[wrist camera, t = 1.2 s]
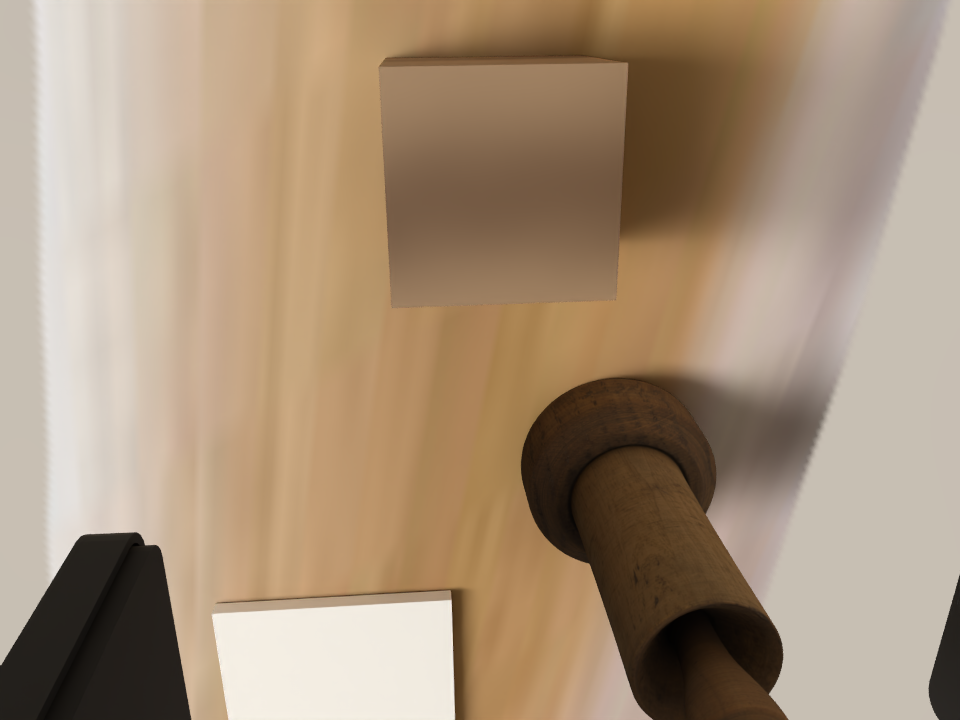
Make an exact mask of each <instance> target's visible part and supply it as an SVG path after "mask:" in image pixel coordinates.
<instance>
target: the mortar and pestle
mask: <svg viewBox="0 0 960 720" xmlns="http://www.w3.org/2000/svg"><path fill="white" fill-rule="evenodd" d="M521 474H522V481H523V485H524V489H525V492H526V496H527V500H528V503H529V507H530V510H531V513H532V516H533V518H534V520H535V522H536V524H537V526H538V528H539V529H540V531H541V532H542V533H543V535H544V536H545V537H546V538H547V539H548V540H549V541H550V542H551V543H552V544H553V545H554V546H555V547H556V548H558V549H559V550H560V551H562V552H563V553H565V554H567V555H568V556H570V557H572V558H574V559H577V560H580V561H583V562H586V563H589V564H590V566H591V569H592V571H593V574H594V577H595V580H596V583H597V586H598V589H599V592H600V595H601V598H602V601H603V604H604V607H605V610H606V613H607V616H608V619H609V622H610V625H611V628H612V631H613V634H614V637H615V640H616V643H617V646H618V649H619V652H620V656H621V659H622V662H623V665H624V668H625V671H626V675H627V678H628V681H629V684H630V687H631V690H632V693H633V695H634V698H635V700H636V701H637V703H638V705H639V706H640V708H641V709H642V710H643V711H644V712H645V713H646V714H647V715H648V716H649V717H651V718H652V719H653V720H788V718H787V717H786V716H785V714H784V713H783V711H782V710H781V709H780V707H779V706H778V705H777V704H776V702H775V701H774V700H773V699H772V698H771V697H770V696H769V693H770V691H771V690H772V688H773V687H774V685H775V684H776V682H777V680H778V677H779V674H780V671H781V668H782V663H783V647H782V642H781V638H780V636H779V633H778V631H777V629H776V628H775V626H774V625H773V623H772V621H771V620H770V618H769V616H768V615H767V613H766V612H765V610H764V608H763V607H762V605H761V604H760V602H759V600H758V599H757V597H756V596H755V594H754V593H753V591H752V589H751V588H750V586H749V585H748V583H747V582H746V580H745V578H744V577H743V575H742V574H741V572H740V570H739V569H738V567H737V566H736V564H735V562H734V561H733V559H732V557H731V556H730V554H729V553H728V551H727V549H726V548H725V546H724V545H723V543H722V541H721V540H720V538H719V536H718V535H717V533H716V531H715V530H714V528H713V526H712V525H711V523H710V521H709V520H708V518H707V516H706V512H707V510H708V508H709V506H710V503H711V501H712V498H713V494H714V490H715V484H716V466H715V460H714V456H713V453H712V450H711V448H710V445H709V443H708V441H707V439H706V438H705V436H704V434H703V433H702V431H701V430H700V429H699V427H698V426H697V424H696V423H695V421H694V419H693V418H692V416H691V415H690V413H689V412H688V411H687V409H686V408H685V407H684V406H683V405H682V404H681V403H680V402H679V401H678V400H677V399H676V398H675V397H674V396H672V395H671V394H670V393H668V392H666V391H665V390H663V389H661V388H659V387H657V386H655V385H652V384H649V383H646V382H642V381H638V380H631V379H605V380H598V381H594V382H590V383H587V384H584V385H581V386H578V387H576V388H574V389H572V390H570V391H568V392H566V393H564V394H563V395H561V396H560V397H558V398H557V399H556V400H554V401H553V402H552V403H551V404H550V405H549V406H547V408H546V409H545V410H544V411H543V412H542V413H541V414H540V415H539V417H538V418H537V419H536V421H535V422H534V424H533V425H532V427H531V429H530V431H529V433H528V435H527V438H526V440H525V443H524V447H523V452H522V459H521Z"/></svg>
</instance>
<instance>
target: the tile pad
mask: <svg viewBox="0 0 960 720" xmlns="http://www.w3.org/2000/svg"><path fill="white" fill-rule="evenodd" d="M212 618H213V625H214V631H215V637H216V644H217V650H218V656H219V663H220V669H221V675H222V682H223V688H224V694H225V701H226V707H227V713H228V719H229V720H455V703H454V668H453V633H452V599H451V590H447V591H429V592H412V593H394V594H377V595H359V596H342V597H324V598H306V599H289V600H271V601H254V602H236V603H219V604H215V606H214V609H213V612H212Z"/></svg>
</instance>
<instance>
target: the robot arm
mask: <svg viewBox="0 0 960 720" xmlns="http://www.w3.org/2000/svg"><path fill="white" fill-rule="evenodd" d="M929 698H930V702H931V705H932V708H933V710H934V712H935V714H936V716H937V717H938V719H939V720H960V576H959V579H958V583H957V586H956V590H955V594H954V597H953V600H952V604H951V607H950V611H949V615H948V618H947V622H946V625H945V629H944V632H943V636H942V639H941V643H940V646H939V650H938V654H937V657H936V660H935V664H934V668H933V671H932V675H931V679H930V683H929ZM0 720H191V716H190V710H189V704H188V699H187V693H186V687H185V682H184V676H183V670H182V665H181V659H180V653H179V648H178V642H177V636H176V631H175V625H174V619H173V614H172V608H171V602H170V596H169V591H168V585H167V579H166V574H165V568H164V562H163V557H162V553H161V550H160V548H159V547H158V546H157V545H146V546H145V544H144V540H143V538H142V537H141V535H140V534H138V533H137V532H134V533H111V534H87V535H83V536H81V537H80V538H79V539H78V540H77V541H76V543H75V545H74V546H73V548H72V550H71V551H70V553H69V554H68V556H67V558H66V559H65V561H64V563H63V564H62V566H61V568H60V569H59V571H58V573H57V574H56V576H55V578H54V579H53V581H52V582H51V584H50V586H49V587H48V589H47V591H46V592H45V594H44V596H43V597H42V599H41V601H40V602H39V604H38V606H37V607H36V609H35V611H34V612H33V614H32V616H31V617H30V619H29V621H28V622H27V624H26V625H25V627H24V629H23V630H22V632H21V634H20V635H19V637H18V639H17V640H16V642H15V644H14V645H13V647H12V649H11V650H10V652H9V653H8V655H7V657H6V658H5V660H4V662H3V663H2V665H0Z"/></svg>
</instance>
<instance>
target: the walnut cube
mask: <svg viewBox="0 0 960 720" xmlns="http://www.w3.org/2000/svg"><path fill="white" fill-rule="evenodd" d="M627 80H628V63H626V62H619V61H613V60H607V59H601V58H595V57H589V56H583V55H565V56H500V57H434V58H385V60H384V61H383V62H382V63H381V65H380V66H379V81H380V100H381V119H382V137H383V156H384V175H385V193H386V212H387V231H388V249H389V268H390V287H391V305H392V308H409V307H437V306H466V305H494V304H523V303H551V302H579V301H608V300H616V296H617V277H618V257H619V237H620V218H621V198H622V178H623V158H624V139H625V119H626V99H627Z"/></svg>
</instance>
